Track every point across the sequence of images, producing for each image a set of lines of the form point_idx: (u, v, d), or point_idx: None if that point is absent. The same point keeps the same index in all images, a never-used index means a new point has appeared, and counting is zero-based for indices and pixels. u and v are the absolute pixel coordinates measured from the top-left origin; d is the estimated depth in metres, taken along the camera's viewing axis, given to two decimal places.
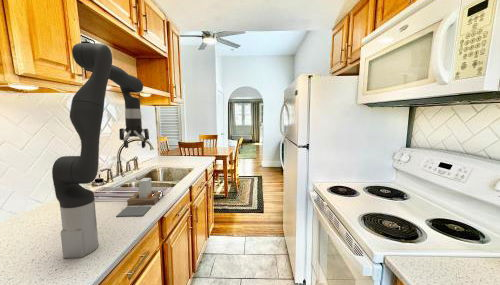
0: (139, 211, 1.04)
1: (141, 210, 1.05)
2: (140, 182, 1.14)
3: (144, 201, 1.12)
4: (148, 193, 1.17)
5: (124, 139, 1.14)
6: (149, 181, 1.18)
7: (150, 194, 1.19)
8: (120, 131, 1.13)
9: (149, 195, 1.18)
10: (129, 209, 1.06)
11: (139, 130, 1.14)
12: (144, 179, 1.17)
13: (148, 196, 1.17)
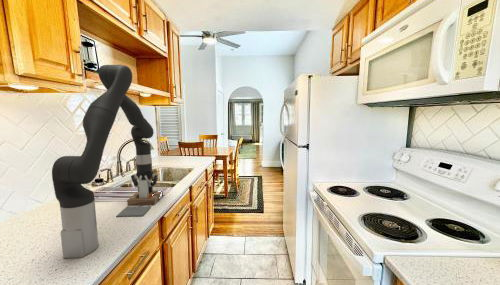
0: (139, 211, 1.04)
1: (141, 210, 1.05)
2: (140, 182, 1.14)
3: (144, 201, 1.12)
4: (148, 193, 1.17)
5: (138, 185, 1.16)
6: None
7: (150, 194, 1.19)
8: (132, 178, 1.15)
9: (149, 195, 1.18)
10: (129, 209, 1.06)
11: (150, 176, 1.16)
12: None
13: (148, 196, 1.17)
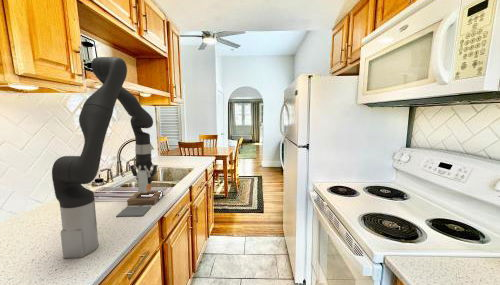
0: (139, 211, 1.04)
1: (141, 210, 1.05)
2: (139, 172, 1.13)
3: (144, 201, 1.12)
4: (147, 184, 1.16)
5: None
6: None
7: (149, 185, 1.18)
8: (131, 168, 1.14)
9: (148, 186, 1.17)
10: (129, 209, 1.06)
11: (149, 166, 1.15)
12: None
13: (147, 186, 1.16)
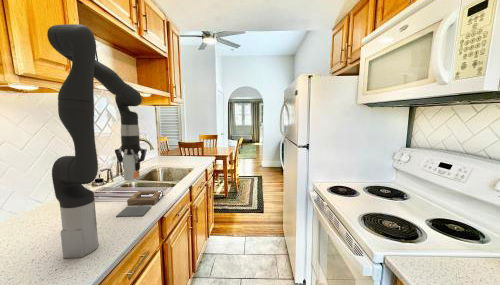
0: (139, 211, 1.04)
1: (141, 210, 1.05)
2: (125, 157, 0.98)
3: (144, 201, 1.12)
4: (134, 170, 1.01)
5: (123, 161, 1.00)
6: None
7: (137, 172, 1.03)
8: (116, 152, 0.99)
9: (136, 173, 1.02)
10: (129, 209, 1.06)
11: (137, 150, 1.00)
12: None
13: (135, 174, 1.01)
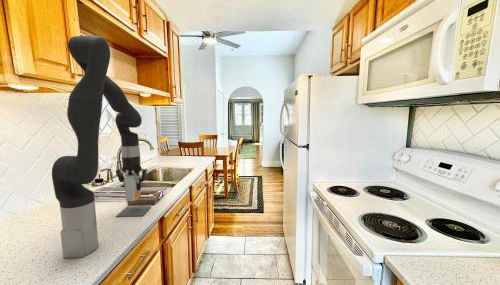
0: (139, 211, 1.04)
1: (141, 210, 1.05)
2: (126, 178, 0.99)
3: (144, 201, 1.12)
4: (136, 190, 1.02)
5: None
6: None
7: (138, 191, 1.04)
8: (117, 173, 1.00)
9: (137, 193, 1.03)
10: (129, 209, 1.06)
11: (138, 171, 1.01)
12: None
13: (136, 194, 1.02)
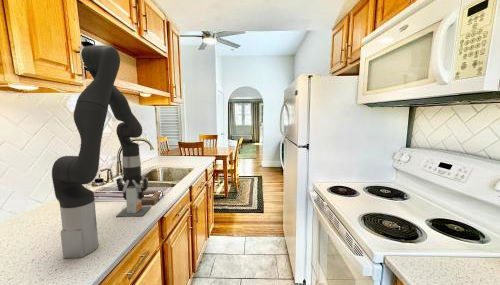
0: (139, 211, 1.04)
1: (141, 210, 1.05)
2: (128, 190, 1.00)
3: (144, 201, 1.12)
4: (137, 202, 1.03)
5: (123, 190, 1.02)
6: None
7: (139, 203, 1.05)
8: (117, 182, 1.01)
9: (138, 205, 1.04)
10: None
11: (138, 180, 1.02)
12: (132, 187, 1.03)
13: (137, 206, 1.03)
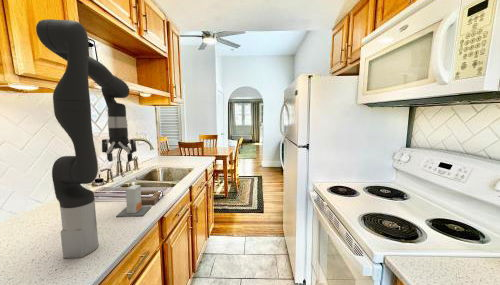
0: (139, 211, 1.04)
1: (141, 210, 1.05)
2: (128, 190, 1.00)
3: (144, 201, 1.12)
4: (137, 203, 1.03)
5: (107, 151, 0.99)
6: (138, 189, 1.04)
7: (139, 203, 1.05)
8: (103, 142, 0.98)
9: (138, 205, 1.04)
10: None
11: (124, 141, 0.99)
12: (132, 187, 1.03)
13: (137, 206, 1.03)
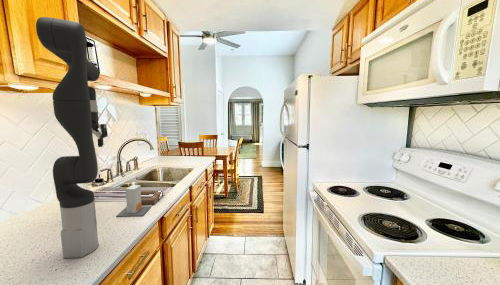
0: (139, 211, 1.04)
1: (141, 210, 1.05)
2: (128, 190, 1.00)
3: (144, 201, 1.12)
4: (137, 203, 1.03)
5: None
6: (138, 189, 1.04)
7: (139, 203, 1.05)
8: None
9: (138, 205, 1.04)
10: None
11: (94, 126, 0.96)
12: (132, 187, 1.03)
13: (137, 206, 1.03)
